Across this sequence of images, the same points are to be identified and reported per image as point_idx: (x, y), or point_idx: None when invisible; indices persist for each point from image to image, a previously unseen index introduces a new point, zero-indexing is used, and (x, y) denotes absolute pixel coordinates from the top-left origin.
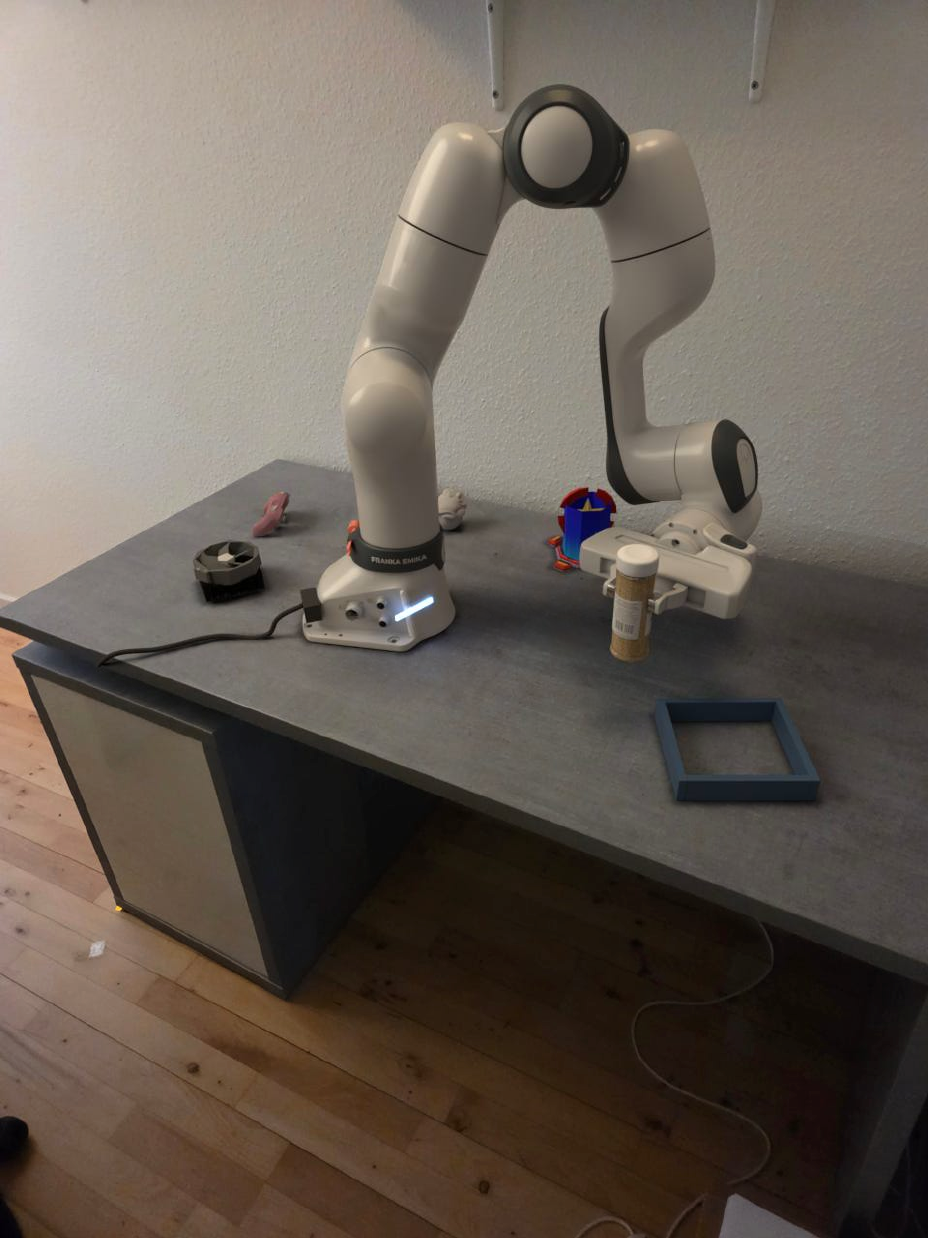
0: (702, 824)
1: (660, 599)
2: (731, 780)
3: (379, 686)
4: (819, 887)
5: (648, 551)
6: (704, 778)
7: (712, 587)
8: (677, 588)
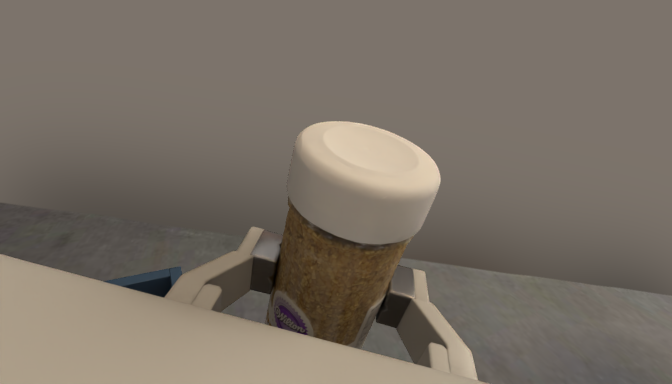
0: (151, 268)
1: (254, 233)
2: (103, 281)
3: (578, 352)
4: (33, 232)
5: (342, 152)
6: (144, 276)
7: (50, 270)
8: (202, 285)
